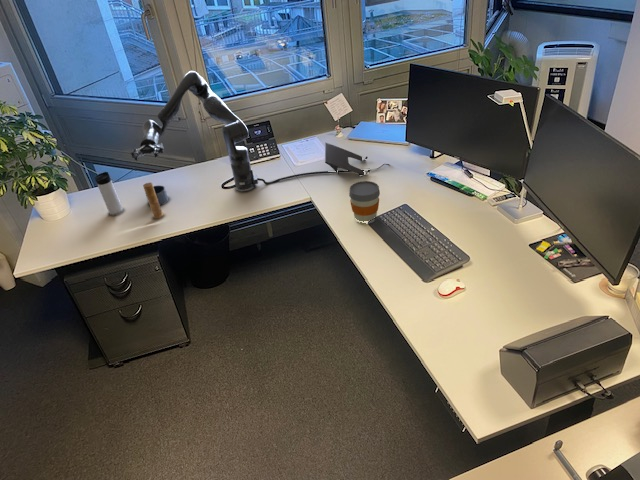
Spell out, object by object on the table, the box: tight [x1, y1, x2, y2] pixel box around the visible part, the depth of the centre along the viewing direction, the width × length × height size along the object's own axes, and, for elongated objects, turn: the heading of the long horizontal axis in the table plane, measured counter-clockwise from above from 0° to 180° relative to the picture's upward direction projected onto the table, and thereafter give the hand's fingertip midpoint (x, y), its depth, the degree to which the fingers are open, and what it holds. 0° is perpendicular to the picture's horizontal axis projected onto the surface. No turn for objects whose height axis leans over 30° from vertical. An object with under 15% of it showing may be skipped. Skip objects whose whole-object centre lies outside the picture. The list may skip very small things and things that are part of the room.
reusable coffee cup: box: [348, 180, 381, 226], centre depth 193 cm, size 13×13×15 cm
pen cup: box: [147, 185, 169, 206], centre depth 225 cm, size 9×9×6 cm
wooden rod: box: [142, 182, 164, 219], centre depth 210 cm, size 4×4×17 cm
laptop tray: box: [324, 142, 371, 176], centre depth 234 cm, size 23×23×9 cm
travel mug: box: [94, 171, 124, 216], centre depth 216 cm, size 6×7×20 cm
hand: (145, 157), depth 209 cm, fingers open, 8 cm apart
